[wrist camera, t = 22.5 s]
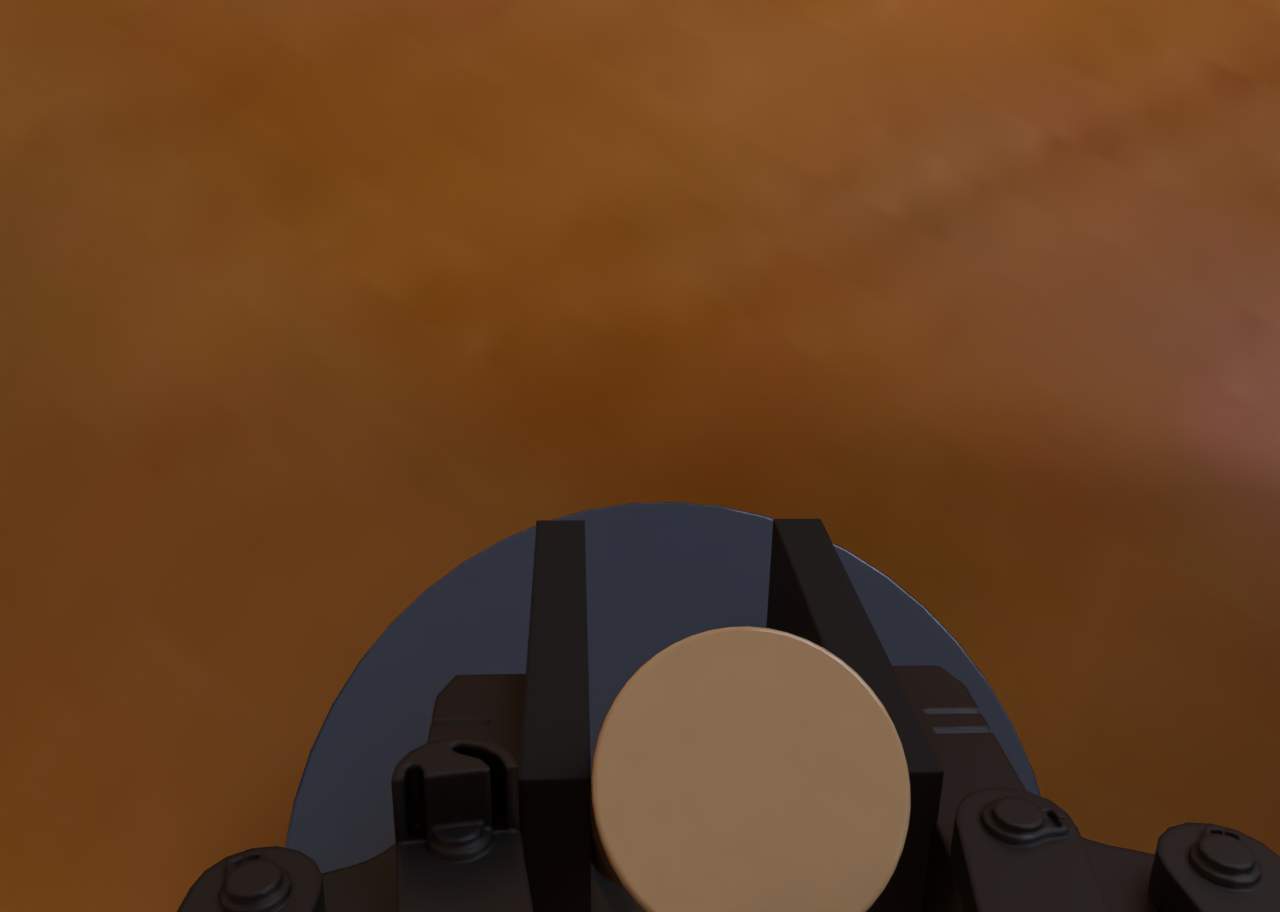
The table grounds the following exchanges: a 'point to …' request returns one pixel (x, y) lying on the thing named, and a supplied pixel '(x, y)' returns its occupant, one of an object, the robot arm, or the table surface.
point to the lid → (664, 718)
